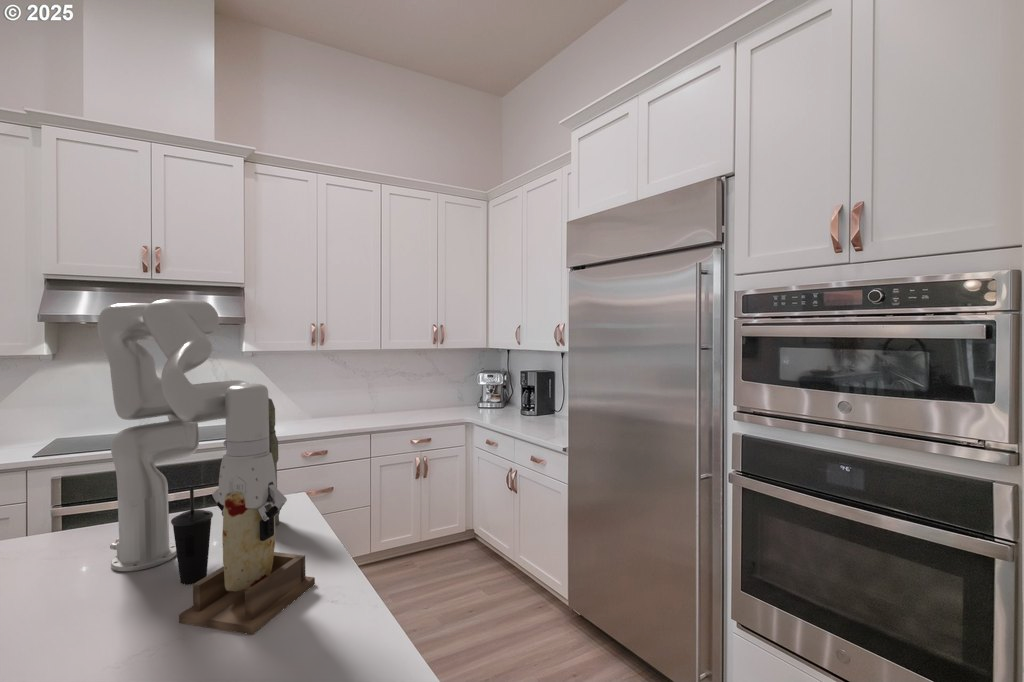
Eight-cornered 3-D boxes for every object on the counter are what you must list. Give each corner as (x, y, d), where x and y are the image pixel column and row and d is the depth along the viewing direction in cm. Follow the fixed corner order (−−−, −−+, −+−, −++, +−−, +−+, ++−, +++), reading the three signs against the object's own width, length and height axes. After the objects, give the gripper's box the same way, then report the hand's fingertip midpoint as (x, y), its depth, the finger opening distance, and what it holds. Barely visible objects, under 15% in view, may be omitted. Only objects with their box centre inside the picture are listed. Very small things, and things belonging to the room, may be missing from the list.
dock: (178, 622, 94) (178, 588, 94) (250, 575, 111) (250, 546, 111) (252, 634, 90) (251, 598, 90) (314, 584, 108) (314, 554, 107)
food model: (232, 601, 95) (229, 495, 94) (216, 589, 99) (214, 488, 98) (282, 580, 103) (280, 482, 102) (266, 570, 107) (264, 476, 106)
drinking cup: (222, 574, 112) (220, 484, 111) (187, 591, 105) (185, 495, 104) (199, 567, 115) (197, 480, 115) (164, 583, 108) (162, 490, 108)
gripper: (195, 449, 98) (197, 539, 99) (272, 454, 94) (274, 548, 95) (225, 440, 106) (227, 524, 106) (299, 445, 101) (300, 532, 102)
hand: (249, 535), depth 100 cm, fingers closed on food model, 7 cm apart
